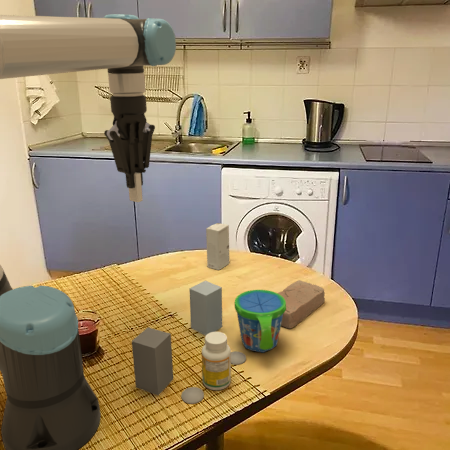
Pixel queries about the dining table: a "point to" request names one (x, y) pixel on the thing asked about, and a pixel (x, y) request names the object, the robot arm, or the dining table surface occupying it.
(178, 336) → the dining table surface
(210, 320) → the light grey rectangular block
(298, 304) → the brick
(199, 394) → the coaster left
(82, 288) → the dining table surface
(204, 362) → the supplement bottle
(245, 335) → the snack cup
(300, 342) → the dining table surface
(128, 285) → the dining table surface
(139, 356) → the post charcoal
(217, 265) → the skincare box
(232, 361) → the coaster right
